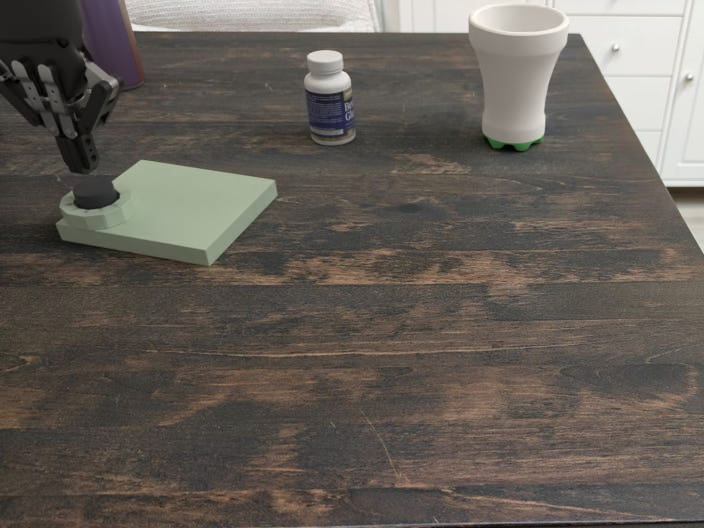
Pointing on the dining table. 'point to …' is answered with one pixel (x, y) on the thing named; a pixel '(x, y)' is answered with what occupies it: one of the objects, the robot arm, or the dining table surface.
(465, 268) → the dining table surface
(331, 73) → the pill bottle
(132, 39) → the purple tall cylinder
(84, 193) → the button
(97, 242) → the scale
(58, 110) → the robot arm
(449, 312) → the dining table surface
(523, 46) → the cup
